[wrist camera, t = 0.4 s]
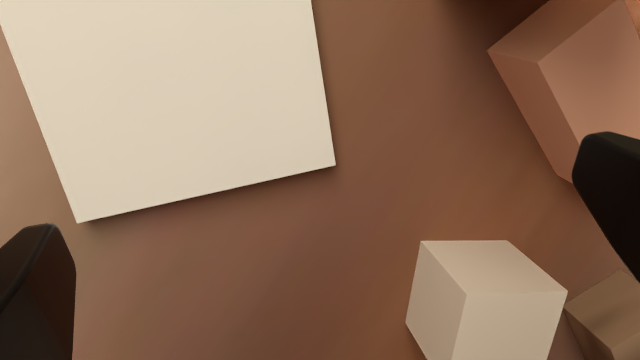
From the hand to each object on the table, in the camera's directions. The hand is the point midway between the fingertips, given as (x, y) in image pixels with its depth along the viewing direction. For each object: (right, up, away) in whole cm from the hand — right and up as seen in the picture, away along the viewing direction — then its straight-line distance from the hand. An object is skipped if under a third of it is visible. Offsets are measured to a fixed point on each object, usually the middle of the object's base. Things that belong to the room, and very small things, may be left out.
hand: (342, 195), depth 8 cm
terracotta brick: (+11, +5, +16) cm, 20 cm away
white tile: (-6, +5, +12) cm, 14 cm away
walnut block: (+17, -8, +22) cm, 29 cm away
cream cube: (+7, -5, +19) cm, 21 cm away
